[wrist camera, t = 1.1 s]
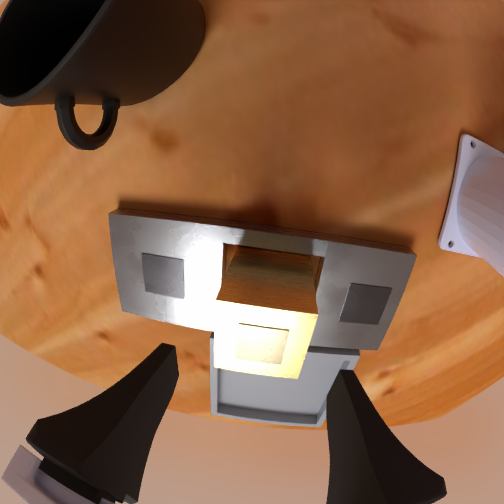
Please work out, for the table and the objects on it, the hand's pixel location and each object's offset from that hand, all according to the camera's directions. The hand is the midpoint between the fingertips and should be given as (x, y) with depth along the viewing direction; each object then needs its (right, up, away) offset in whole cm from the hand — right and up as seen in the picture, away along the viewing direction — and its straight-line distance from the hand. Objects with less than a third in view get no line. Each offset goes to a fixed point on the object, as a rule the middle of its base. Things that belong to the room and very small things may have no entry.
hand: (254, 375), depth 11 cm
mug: (-7, +18, +2) cm, 19 cm away
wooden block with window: (+1, +3, +7) cm, 8 cm away
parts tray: (+2, -6, +11) cm, 13 cm away
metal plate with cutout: (0, +3, +7) cm, 8 cm away
